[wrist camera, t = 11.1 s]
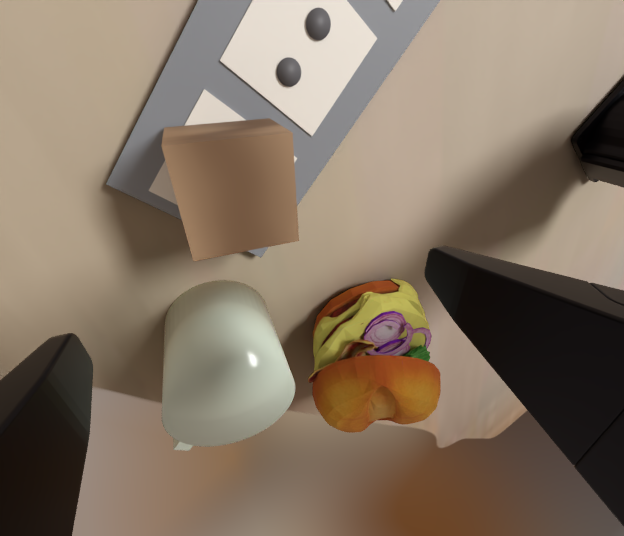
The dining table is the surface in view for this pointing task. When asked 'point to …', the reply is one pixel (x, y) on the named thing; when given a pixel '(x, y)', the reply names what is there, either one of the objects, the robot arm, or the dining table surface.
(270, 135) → the brown wooden block
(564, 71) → the dining table surface
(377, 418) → the cheeseburger
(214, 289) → the mug
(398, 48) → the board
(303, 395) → the dining table surface
